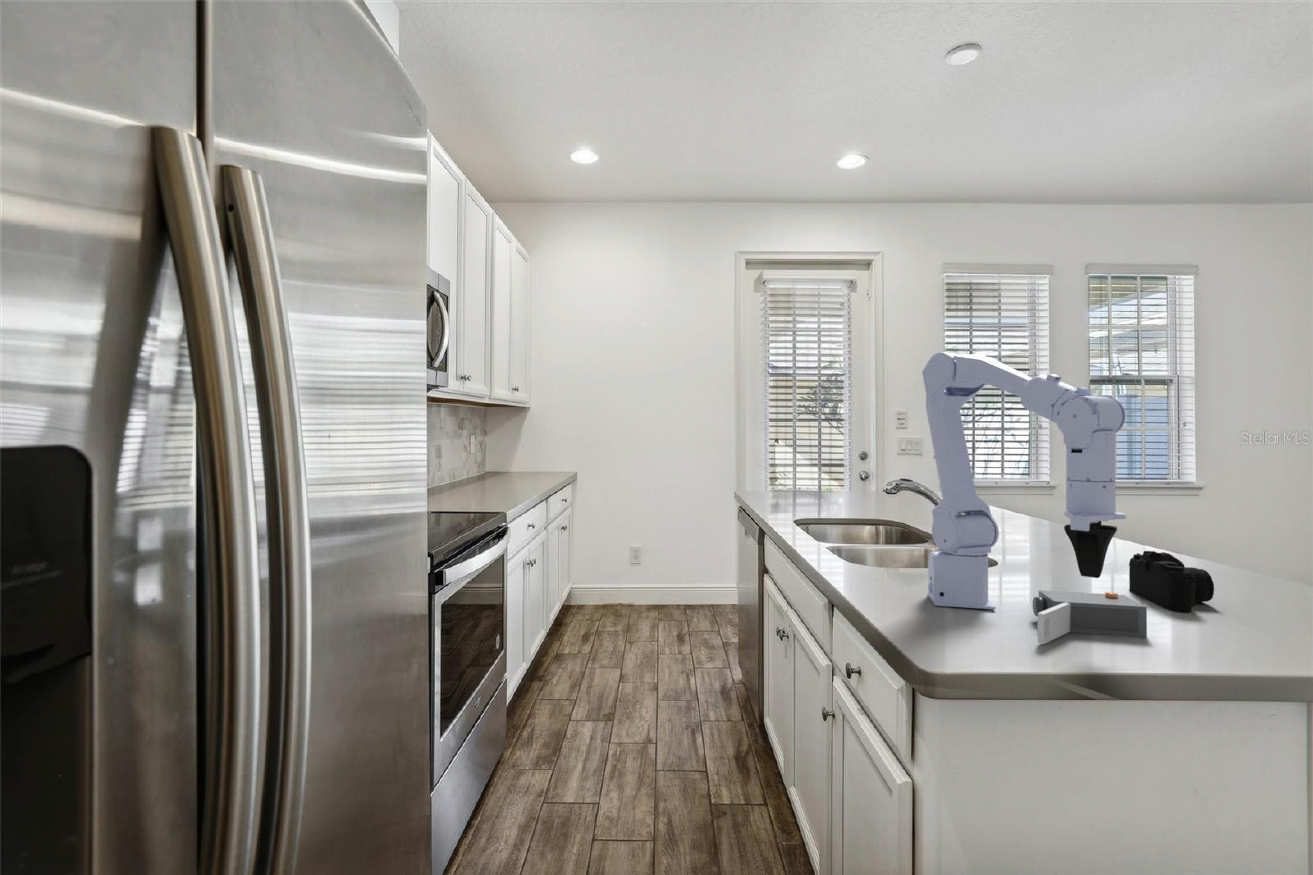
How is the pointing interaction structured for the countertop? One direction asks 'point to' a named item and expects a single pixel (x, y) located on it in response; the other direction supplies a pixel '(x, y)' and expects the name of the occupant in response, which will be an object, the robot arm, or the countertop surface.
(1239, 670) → the countertop surface
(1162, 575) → the film camera
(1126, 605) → the grey box
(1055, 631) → the side door
